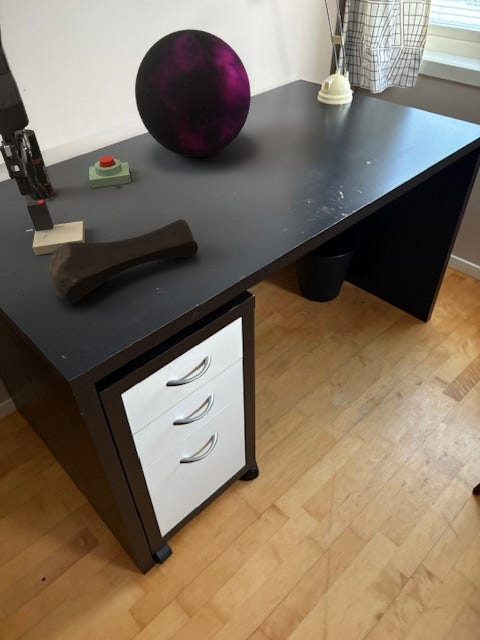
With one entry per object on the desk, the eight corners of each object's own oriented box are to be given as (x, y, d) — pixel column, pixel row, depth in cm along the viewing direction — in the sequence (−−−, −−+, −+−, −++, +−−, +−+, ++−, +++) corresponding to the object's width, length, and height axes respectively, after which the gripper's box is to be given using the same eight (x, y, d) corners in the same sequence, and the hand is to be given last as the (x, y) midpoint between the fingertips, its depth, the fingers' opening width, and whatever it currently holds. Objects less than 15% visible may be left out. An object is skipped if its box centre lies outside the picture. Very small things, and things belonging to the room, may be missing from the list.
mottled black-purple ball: (270, 160, 129) (271, 33, 109) (165, 185, 120) (145, 52, 100) (225, 125, 149) (219, 13, 129) (133, 145, 140) (110, 27, 120)
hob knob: (35, 231, 101) (26, 205, 97) (36, 227, 103) (26, 201, 98) (53, 228, 102) (44, 202, 98) (53, 225, 103) (44, 199, 99)
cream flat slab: (26, 256, 98) (22, 248, 97) (30, 230, 106) (27, 221, 104) (84, 247, 100) (82, 239, 98) (85, 222, 108) (82, 213, 106)
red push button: (100, 169, 120) (99, 162, 119) (100, 163, 123) (99, 157, 121) (115, 167, 120) (113, 160, 119) (114, 161, 123) (113, 155, 122)
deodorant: (54, 197, 117) (35, 136, 107) (29, 202, 116) (7, 140, 106) (52, 187, 122) (33, 127, 111) (28, 191, 120) (6, 132, 110)
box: (91, 188, 120) (87, 173, 118) (91, 174, 126) (87, 160, 123) (131, 182, 122) (128, 167, 119) (129, 169, 128) (126, 155, 125)
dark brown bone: (60, 315, 87) (195, 277, 100) (59, 287, 78) (208, 249, 91) (40, 266, 90) (174, 235, 103) (37, 233, 81) (184, 204, 94)
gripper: (-17, 90, 89) (14, 172, 100) (-31, 115, 79) (5, 204, 90) (25, 86, 91) (51, 168, 101) (16, 110, 80) (46, 198, 91)
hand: (29, 184), depth 96 cm, fingers open, 8 cm apart
